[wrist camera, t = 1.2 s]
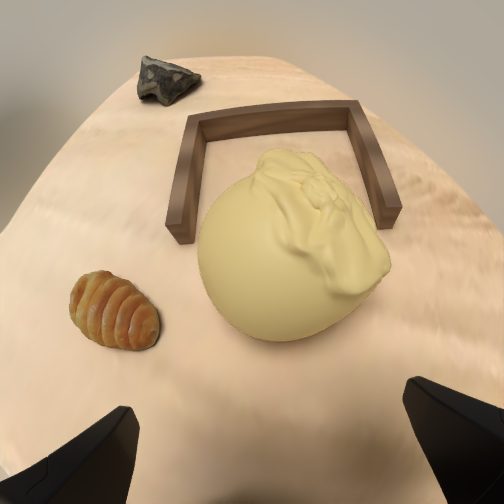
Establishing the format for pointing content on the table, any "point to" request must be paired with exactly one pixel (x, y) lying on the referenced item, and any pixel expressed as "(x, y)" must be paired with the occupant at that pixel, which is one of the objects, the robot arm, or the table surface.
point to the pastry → (113, 312)
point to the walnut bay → (273, 122)
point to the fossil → (163, 80)
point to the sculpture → (289, 249)
